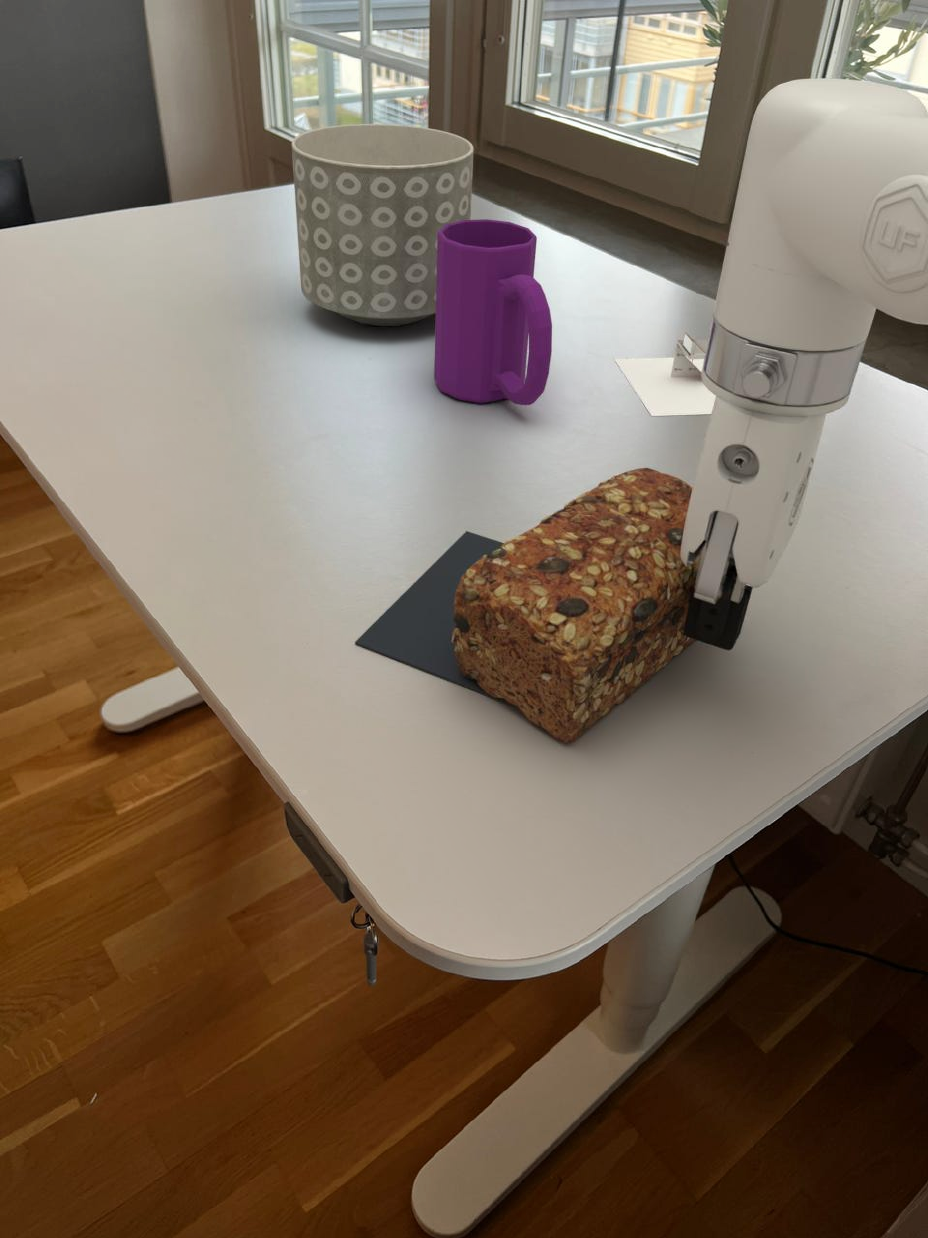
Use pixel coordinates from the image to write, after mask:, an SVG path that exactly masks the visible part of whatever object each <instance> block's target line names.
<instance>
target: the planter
mask: <svg viewBox="0 0 928 1238" xmlns="http://www.w3.org/2000/svg"><path fill="white" fill-rule="evenodd" d="M474 149H475V148H474V146H473V144H472V143H471V142H470V141H469V140H468V139H466V138H465V137H462V136H460V135H458V134H454V133H451V132H448V131H444V130H439V129H435V128H429V127H423V126H416V125H414V126H413V125H404V124H403V125H402V124H391V123H390V124H389V123H355V124H354V123H353V124H352V123H351V124H341V125H332V126H331V125H330V126H325V127H318V128H314V129H311V130H308V131H304V132H302V133H300V134H298V135H296V136H295V137H294V138H293V139H292V140H291V157H292V171H293V172H292V173H293V187H294V201H295V202H294V203H295V218H296V219H295V220H296V229H297V230H296V232H297V245H298V262H299V263H298V264H299V278H300V289H301V292H302V295H303V296H304V297H305V298H306V300H308V301H309V302H311V304H314V305H316V306H318V307H320V308H322V309H325V310H328V311H331V312H334V313H337V314H338V315H340V316H341V317H344V318H347V319H349V320H351V321H355V322H358V323H360V324H363V325H364V324H365V325H368V326H375V327H397V326H404V325H408V324H412V323H416V322H419V321H422V320H424V319H426V318H428V317H431V316H432V315H434V314H436V277H437V234H438V232H439V231H440V230H441V229H442V228H443V227H444V226H445V225H447V224H451V223H455V222H459V221H463V220H472V197H473V196H472V194H473V173H474V151H475V150H474Z"/></svg>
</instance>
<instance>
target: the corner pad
mask: <svg viewBox="0 0 928 1238" xmlns="http://www.w3.org/2000/svg"><path fill="white" fill-rule="evenodd" d="M504 543H505V542H503V541H498V540H495V539H493V538H489V537H486V536H484V535H480V534H477V533H474V532H471V531H468V530H466V531H465V532H463V534H462V535H461V536H460V537H459V538H458V539H457V540H455V542H454V543H452V545H451V546H450V547H449V548H448V549H447V550H446V551H445V552H444V553H443V554H442V555H440V557H439V558H438V559H437V560H436V561H435V562H433V564H432V565H431V566H430V567H429V568H428V569H427V570H425V571H424V572H423V573H422V575H421V576H420V577H419V578H418V579H416V580H415V581H414V582H413V584H412V585H411V586H409V588H408V589H406V590H405V592H404V593H403V594H402V595H400V596H399V597H398V598H397V599H396V600H395V601H394V602H393V604H392V605H390V607H388V608H387V610H385V611H384V612H383V613H382V614H381V615H380V616H379V617H378V618H377V620H375V621H374V622H373V623H372V624H371V626H369V627H368V628H367V629H366V630H365V631H364V632H363V633H362V634H361V635H360V636H359V637H358V638H357V640H355V641H354V644H355V645H356V646H359V647H361V648H364V649H367V650H369V651H371V652H373V653H377V654H379V655H382V656H384V657H387V658H389V659H392V660H395V661H397V662H399V663H402V664H405V665H407V666H409V667H412V668H414V669H418V670H420V671H422V672H425V673H428V674H429V675H432V676H435V677H438V678H440V679H443V680H446V681H448V682H450V683H453V684H455V685H458V686H460V687H463V688H466V689H468V690H470V691H473V692H476V693H478V694H481V695H483V696H486V697H488V698H491V699H494V700H496V701H499V702H501V703H503V704H506V705H509V706H511V707H515V708H516V706H515V705H513V704H511V703H509V702H508V701H506V700H505V699H504V698H498V697H494V696H492V695H489V694H487V693H486V692H485V691H484V690H483V689H482V688H481V687H480V686H479V685H478V683H477V680H476V679H471V678H468V677H466V676H465V675H464V674H463V673H462V671H461V670H460V669H459V667H458V662H457V658H456V651H454V650H455V645H456V644H455V643H453V642H451V641H452V636H453V634H452V633H453V631H454V628H455V626H456V623H455V622H454V620H453V614H454V610H455V606H454V599H455V593H456V590H457V587H458V585H459V583H460V580H461V577H462V576H463V575H464V574H465V573H466V571H467V569H469V568H470V567H471V566H472V565H473V564H475V563H476V562H477V561H478V560H479V559H480V558H482V557H483V556H484V555H488V554H490V553H491V552H492V551H494V550H496V549H498V548H499V547H500V546H502V545H503V544H504Z"/></svg>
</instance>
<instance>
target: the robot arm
mask: <svg viewBox="0 0 928 1238" xmlns="http://www.w3.org/2000/svg"><path fill="white" fill-rule="evenodd" d="M876 310H878V311H880V312H883V313H884V314H886V315H888V316H891V317H893V318H895V319H898V320H900V321H904V322H907V323H912V324H916V325H927V326H928V109H927V107H926V105H925V104H924V103H923V102H922V100H921V99H920V98H919V97H918V96H916V95H914V94H912V92H911V93H910V92H909V91H908V90H904V89H902V88H899V87H895V86H891V85H887V84H883V83H878V82H872V81H864V80H858V79H847V78H830V77H829V78H828V77H825V78H823V77H822V78H820V77H818V78H800V79H794V80H793V79H792V80H790V81H787V82H783V83H780V84H778V85H776V86H775V87H772V89H770V90H769V91H768V92H767V93H765V95H764V96H763V98H761V100H760V101H759V104H758V105H757V107H756V109H755V112H754V114H753V117H752V121H751V124H750V129H749V132H748V138H747V142H746V147H745V152H744V158H743V163H742V167H741V173H740V178H739V183H738V188H737V191H736V196H735V202H734V208H733V213H732V218H731V223H730V227H729V232H728V238H727V242H726V247H725V252H724V258H723V263H722V268H721V273H720V277H719V282H718V288H717V293H716V298H715V303H714V308H713V312H712V318H711V323H710V328H709V333H708V338H707V339H708V342H707V347H706V352H705V357H704V362H703V368H702V373H701V379H702V382H703V384H704V385H705V386H706V388H707V389H708V390H709V391H711V392H712V393H713V394H714V395H716V398H715V402H714V405H713V409H712V413H711V414H710V417H709V421H708V425H707V428H706V431H705V432H704V439H703V440H704V441H703V444H702V448H701V452H700V456H699V460H698V464H697V468H696V472H695V477H694V479H693V485H692V487H693V489H692V493H691V498H690V503H689V507H688V512H687V516H686V521H685V526H684V531H683V537H682V544H681V552H680V557H681V559H682V561H683V563H684V564H685V565H686V566H687V567H689V566H690V565H691V564H693V563H694V562H695V560H696V558H697V557H698V555H699V554H700V552H701V554H700V559H699V564H698V570H697V575H696V580H695V583H694V586H693V590H692V594H691V599H690V603H689V608H688V612H687V616H686V621H685V625H684V630H683V632H684V634H685V635H686V636H687V637H689V638H692V639H695V640H694V641H699V642H702V643H704V644H707V645H710V646H713V647H715V648H719V649H721V650H725V651H731V650H733V649H734V646H735V645H736V642H737V640H738V639H739V637H740V635H741V632H742V628H743V625H744V621H745V618H746V614H747V610H748V607H749V603H750V601H751V600H750V599H751V596H752V593H753V588H754V589H756V588H759V587H762V586H764V585H765V584H766V583H768V581H769V580H770V578H771V576H772V575H773V572H774V571H775V569H776V567H777V565H778V564H779V561H780V560H781V558H782V556H783V553H784V552H785V549H786V548H787V546H788V543H789V542H790V540H791V538H792V536H793V534H794V531H795V529H796V527H797V526H798V523H799V520H800V518H801V514H802V511H803V508H804V502H805V499H806V495H807V491H808V487H809V483H810V479H811V475H812V471H813V467H814V463H815V461H816V460H815V459H816V456H817V452H818V448H819V444H820V441H821V437H822V434H823V430H824V425H825V422H826V416H827V414H830V413H834V412H835V411H837V410H840V409H842V408H843V407H844V406H845V405H846V404H848V402H849V399H850V396H851V392H852V389H853V386H854V382H855V379H856V376H857V373H858V369H859V366H860V363H861V359H862V356H863V353H864V349H865V347H866V343H867V340H868V336H869V334H870V330H871V327H872V324H873V322H874V321H873V320H874V318H875V314H876Z"/></svg>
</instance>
